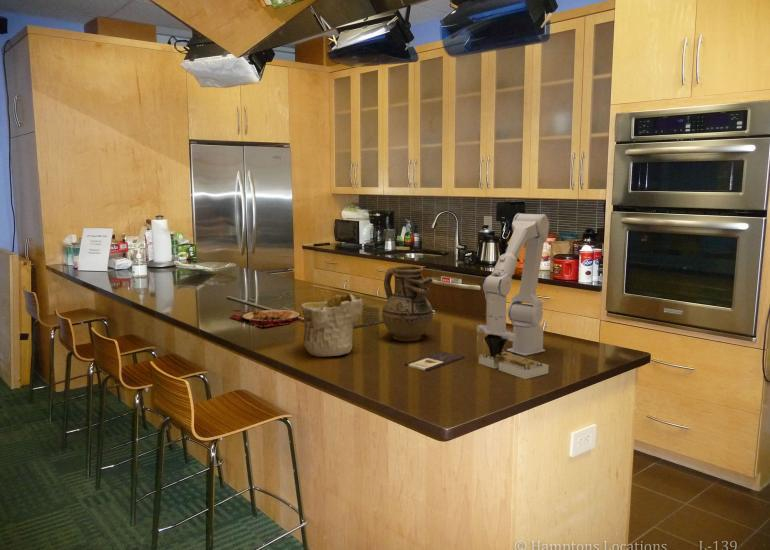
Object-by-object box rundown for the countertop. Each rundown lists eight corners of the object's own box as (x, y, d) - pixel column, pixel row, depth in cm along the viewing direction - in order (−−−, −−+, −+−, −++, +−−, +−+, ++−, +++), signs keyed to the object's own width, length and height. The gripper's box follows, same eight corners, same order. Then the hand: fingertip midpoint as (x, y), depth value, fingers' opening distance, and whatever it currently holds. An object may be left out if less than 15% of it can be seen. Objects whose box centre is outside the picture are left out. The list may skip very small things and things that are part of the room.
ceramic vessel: (266, 331, 199) (302, 271, 206) (312, 362, 212) (344, 305, 219) (302, 341, 184) (339, 277, 191) (350, 375, 197) (383, 313, 204)
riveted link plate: (504, 363, 189) (505, 351, 189) (535, 373, 179) (535, 360, 179) (495, 365, 187) (495, 353, 186) (525, 375, 177) (525, 362, 177)
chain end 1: (500, 358, 193) (500, 348, 193) (515, 363, 188) (516, 353, 188) (478, 363, 188) (478, 353, 188) (493, 368, 183) (494, 358, 182)
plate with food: (263, 331, 234) (263, 322, 234) (229, 318, 254) (228, 310, 253) (316, 322, 251) (316, 313, 250) (280, 310, 270) (280, 302, 270)
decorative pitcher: (367, 337, 221) (366, 267, 217) (403, 329, 233) (403, 262, 229) (411, 348, 205) (411, 273, 201) (447, 339, 217) (447, 268, 213)
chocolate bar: (464, 356, 194) (428, 369, 181) (464, 359, 194) (428, 372, 181) (441, 351, 200) (404, 363, 187) (441, 354, 200) (404, 366, 187)
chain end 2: (520, 364, 186) (521, 355, 186) (548, 373, 178) (548, 363, 177) (498, 370, 181) (498, 360, 181) (525, 379, 173) (526, 368, 172)
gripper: (469, 312, 190) (469, 356, 192) (504, 321, 178) (503, 367, 180) (486, 310, 194) (486, 352, 196) (521, 318, 182) (520, 363, 184)
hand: (495, 359), depth 189 cm, fingers closed
